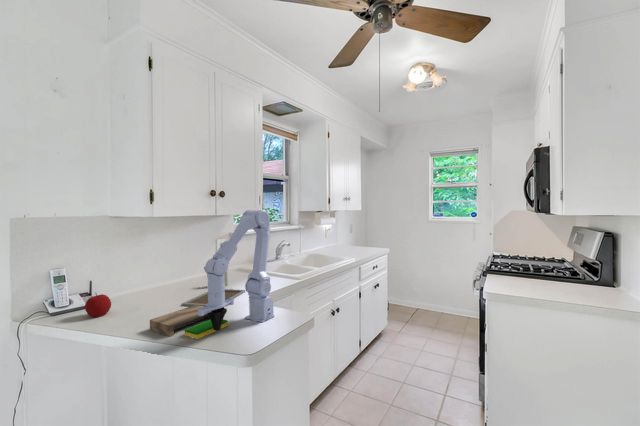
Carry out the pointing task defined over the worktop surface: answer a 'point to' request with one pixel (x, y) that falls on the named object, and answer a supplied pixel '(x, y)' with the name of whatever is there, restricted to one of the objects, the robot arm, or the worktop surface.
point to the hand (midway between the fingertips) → (216, 329)
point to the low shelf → (176, 320)
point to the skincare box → (226, 279)
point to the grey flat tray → (203, 298)
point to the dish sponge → (203, 329)
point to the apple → (98, 305)
